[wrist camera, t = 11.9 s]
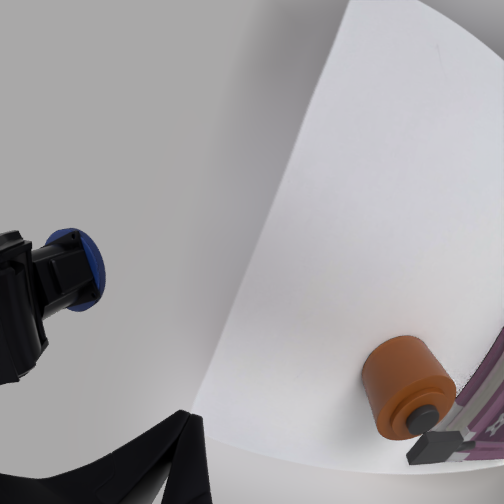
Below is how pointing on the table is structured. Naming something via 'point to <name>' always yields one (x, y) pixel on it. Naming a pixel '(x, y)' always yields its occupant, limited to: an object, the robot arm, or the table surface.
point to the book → (480, 410)
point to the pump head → (437, 447)
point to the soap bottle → (406, 388)
